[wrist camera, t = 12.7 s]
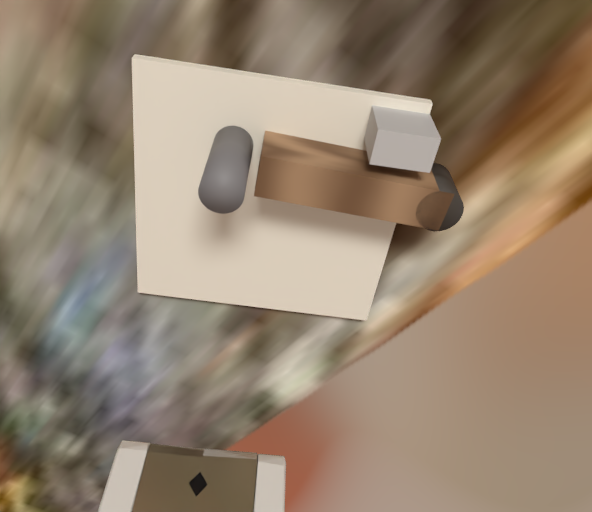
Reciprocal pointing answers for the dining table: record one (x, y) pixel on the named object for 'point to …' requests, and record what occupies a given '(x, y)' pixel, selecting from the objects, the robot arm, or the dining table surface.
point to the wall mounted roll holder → (242, 179)
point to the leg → (354, 183)
